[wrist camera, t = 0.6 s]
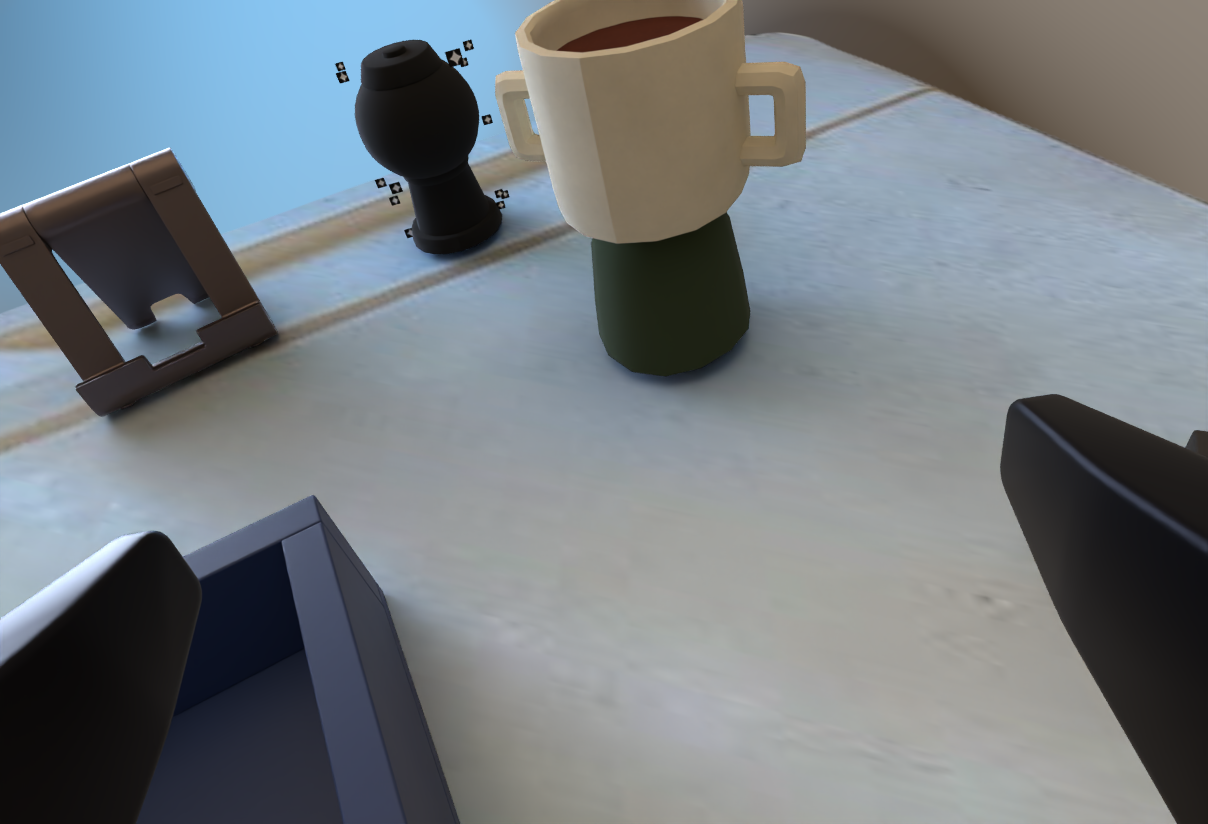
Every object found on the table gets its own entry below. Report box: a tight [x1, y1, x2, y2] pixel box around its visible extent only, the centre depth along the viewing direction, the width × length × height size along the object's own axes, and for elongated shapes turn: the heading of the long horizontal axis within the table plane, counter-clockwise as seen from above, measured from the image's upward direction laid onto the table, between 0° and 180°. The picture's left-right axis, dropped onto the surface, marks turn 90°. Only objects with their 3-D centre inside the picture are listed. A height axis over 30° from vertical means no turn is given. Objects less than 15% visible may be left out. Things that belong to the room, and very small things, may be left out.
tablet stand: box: [0, 148, 278, 417], centre depth 36 cm, size 9×8×8 cm
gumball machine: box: [335, 40, 509, 254], centre depth 38 cm, size 7×6×10 cm
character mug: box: [495, 0, 806, 376], centre depth 28 cm, size 11×7×13 cm, turn 67°
